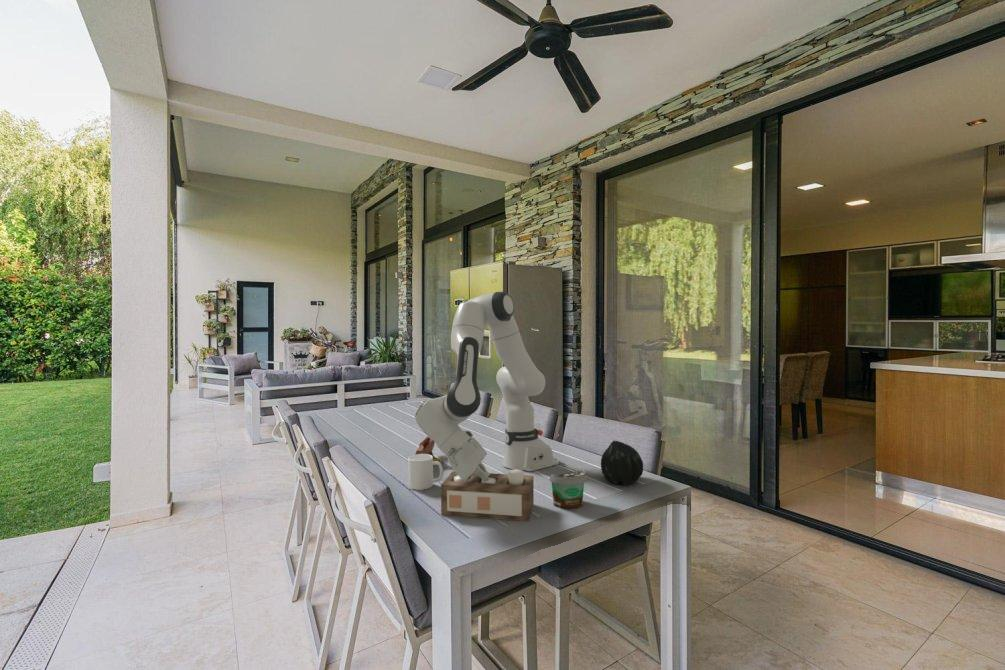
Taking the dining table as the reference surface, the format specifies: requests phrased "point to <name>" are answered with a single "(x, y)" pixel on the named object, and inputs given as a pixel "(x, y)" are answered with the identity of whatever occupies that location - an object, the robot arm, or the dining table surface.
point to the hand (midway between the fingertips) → (487, 478)
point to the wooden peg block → (498, 487)
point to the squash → (621, 463)
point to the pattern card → (484, 503)
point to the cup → (422, 471)
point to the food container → (568, 489)
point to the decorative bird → (427, 448)
